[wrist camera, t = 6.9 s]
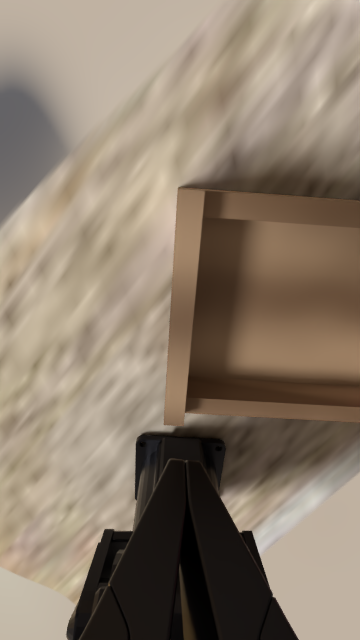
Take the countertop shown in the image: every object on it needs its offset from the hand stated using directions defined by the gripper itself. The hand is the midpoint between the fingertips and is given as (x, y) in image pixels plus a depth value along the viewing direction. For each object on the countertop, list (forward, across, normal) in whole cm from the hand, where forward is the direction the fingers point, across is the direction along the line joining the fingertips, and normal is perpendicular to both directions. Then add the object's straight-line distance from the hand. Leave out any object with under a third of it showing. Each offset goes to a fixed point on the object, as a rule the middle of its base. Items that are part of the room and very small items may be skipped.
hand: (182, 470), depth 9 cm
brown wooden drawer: (+12, -5, -2) cm, 13 cm away
